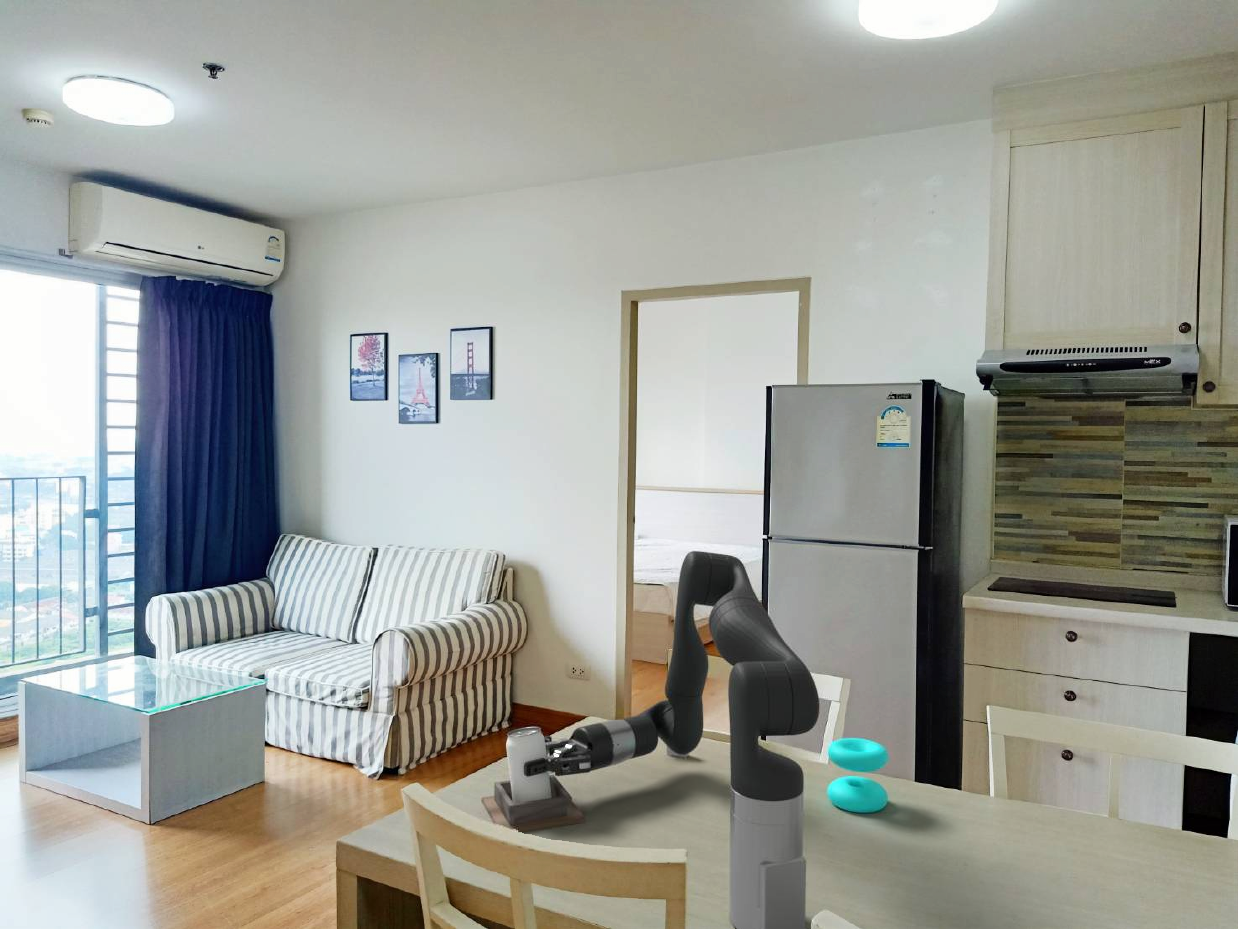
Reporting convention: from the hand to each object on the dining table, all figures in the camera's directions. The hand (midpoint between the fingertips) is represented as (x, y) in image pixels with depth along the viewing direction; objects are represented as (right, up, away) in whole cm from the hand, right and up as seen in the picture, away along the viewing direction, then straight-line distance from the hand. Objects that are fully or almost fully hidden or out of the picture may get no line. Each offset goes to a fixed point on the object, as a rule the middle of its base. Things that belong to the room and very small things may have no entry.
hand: (518, 765), depth 143 cm
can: (+2, -7, +2) cm, 8 cm away
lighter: (+27, -8, +30) cm, 41 cm away
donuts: (+57, -9, +6) cm, 58 cm away
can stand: (+2, -8, +2) cm, 9 cm away
